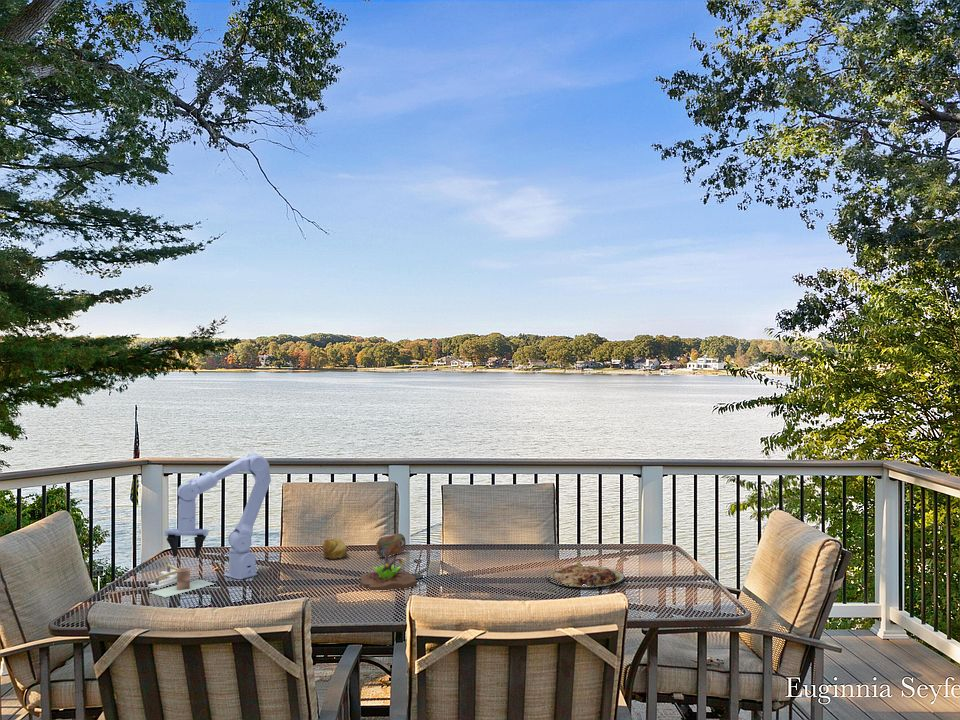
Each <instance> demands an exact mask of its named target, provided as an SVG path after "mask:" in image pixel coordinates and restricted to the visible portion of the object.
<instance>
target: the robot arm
mask: <svg viewBox="0 0 960 720" xmlns="http://www.w3.org/2000/svg"><path fill="white" fill-rule="evenodd" d="M238 472H249V473H251V476H252V477H253V480H254V481H255V483H254V484H253V487H252V489H251V491H250V495H249V497H248V499H247V502H246V505H245V507H244V509H243V512H242V514H241V518H240V519H239V522H238V523H237V524H236V525H235V526H234V529H233V530H232V531H231V532H230V534H229V535H228V537H227V538H228V543H229V544H228V545H230V548H229V550H228V573H223V576H224V577H228V578H231V579H236V580H242V579H243V580H244V579H248V578H251V577H255V576H257V575H258V573H256V569H257V568H256V563H257V558H256V555H255V554H254V553H253V552H251V547H252V537H253V535H254V534H253V532H254V525H255V523H256V520H257V518H258V517H257V516H258V515H259V512H260V509H261V507H262V504H263V503H264V500H265V497H266V494H267V492H268V489H269V487H270V485H271V482H272V478H271V472H270V463H269V462H268V460H267V459H266V458H265V456H263V455H259V454H257V453H249V454H248V455H245V456H242V457H240V458H238V459H237V460H235V461H233V462H231V463H229V464H227V465H226V466H223V467H222V468H220V469H219V470H217V471H215V472H212V471H207V472H206V471H203V472H202V473H201V475H199V476H197V477H195V478H193V479H192V478H191V479H189V480H188V482H183V483H182V484H180V485H179V486H178V488H177V490H176V494H177V496H178V507H177V508H178V509H177V512H178V513H177V514H178V515H177V528H174V529H166V530H164V536H165V537H166V541H167V543H168V545H169V547H170V550H171V552H172V557H173V558H176V557H178V550H179V549H178V547H179V546H178V544H179V537H181V536H184V537H187V536H189V537H191V536H192V537H193V536H195V537H193V539H194V546H195V547H194V557H195V558H197V557H199V556H200V555H201V549H202V546H203V544H204V541H205V540H206V538H207V536H208V535H209V529H208V528H207V529H205V528H196V519H197V518H196V517H197V516H196V513H197V512H196V506H197V503H196V498H197V497H198V495H201V494H203V493H205V492H207V491H209V490H211V489H213V488H215V487H217V484H218V483H219V481H221V480H223V479H225V478H227V477H230V476H232V475H234V474H235V473H238Z"/></svg>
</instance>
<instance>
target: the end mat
mask: <svg viewBox="0 0 960 720" xmlns="http://www.w3.org/2000/svg"><path fill="white" fill-rule="evenodd" d="M214 584H216V583H215V582H211V581H206V580H203V579H196V580H192V581H190V589H183V590H177V584H175V585H171V586H168V587H165V588H162V589H155V590H153V591H149V593H152V594H151V595H153V594H155V595H154V596H156V595H158V596H157V597H159V596H162V597H161V598H163V597H164V598H163V599H167V598H166V597H168V598H171V597H170V596H172V597H175V596H179V595H183V594H186V593H185V592H187V593H190V592H193V591H192V590H194V591H197V590H196V589H198V590H201V589H200V588H202V589H204V588H203V587H205V588H207V587H206V586H209V587H211V586H210V585H213V586H215V585H214ZM189 591H190V592H189ZM182 593H183V594H182ZM178 594H179V595H178ZM174 595H175V596H174Z"/></svg>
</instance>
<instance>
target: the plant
mask: <svg viewBox="0 0 960 720" xmlns="http://www.w3.org/2000/svg"><path fill="white" fill-rule="evenodd" d="M383 555H384V556H386V557H385V562H384V565H382V564H380V565H379V567H377V566H373V569H375V570H376V571H372V572H365V573H362V574H361V575H360V581H359V587H360V586H363V587H364V588H369V589H370V590H388V589H399V588H402V589H404V588H409V587H413V586H415V585H416V586H417V577H416V576H414V575H413V574H411V573H410V571H406V570H403V569H401V568H402V565H400V566H398V567H395V564H394V563H395V562H397V561H398V563H399V564H403V563H404V560H403V559H402V558H394V559H393V560H392V561H391V562H389V557H388V556H387V552H386V551H384V552H383ZM416 586H415V587H416ZM413 588H414V587H413Z"/></svg>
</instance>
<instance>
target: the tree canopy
mask: <svg viewBox="0 0 960 720" xmlns="http://www.w3.org/2000/svg"><path fill="white" fill-rule="evenodd" d="M406 545H407V544H406V538H405V536H404V535H403V534H401V533H393V534H388V535H385V536H381V537H379V539H377V542H376V546H375V547H376V548H375V549H376V554H377V555H378V556H379V557H380V556H382V557H381V558H384V557H385V556H384V555H383V552H384V551H386V552H387V556H389V555H393V554H397V553H401V552H402V553H403V552H404V551H405V549H406ZM402 553H401V554H402Z"/></svg>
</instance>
